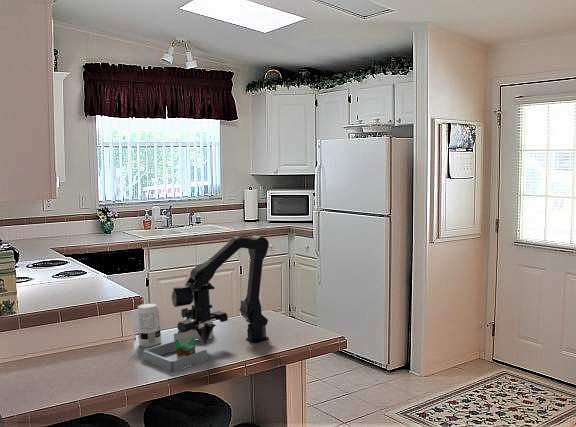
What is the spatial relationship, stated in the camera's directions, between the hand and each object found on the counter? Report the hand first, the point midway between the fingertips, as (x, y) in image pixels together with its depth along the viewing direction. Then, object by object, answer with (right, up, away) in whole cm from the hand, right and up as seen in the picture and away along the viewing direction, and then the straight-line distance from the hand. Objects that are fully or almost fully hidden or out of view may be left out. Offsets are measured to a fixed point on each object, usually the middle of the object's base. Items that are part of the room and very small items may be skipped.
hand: (204, 344), depth 217 cm
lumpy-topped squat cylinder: (-4, -1, +18) cm, 19 cm away
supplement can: (-22, -2, +10) cm, 25 cm away
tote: (-9, -4, -9) cm, 13 cm away
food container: (-4, -3, -5) cm, 8 cm away
